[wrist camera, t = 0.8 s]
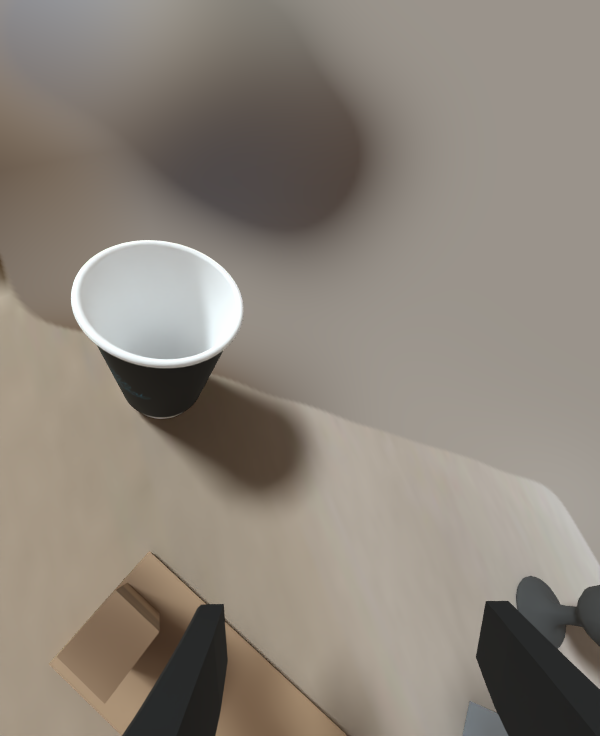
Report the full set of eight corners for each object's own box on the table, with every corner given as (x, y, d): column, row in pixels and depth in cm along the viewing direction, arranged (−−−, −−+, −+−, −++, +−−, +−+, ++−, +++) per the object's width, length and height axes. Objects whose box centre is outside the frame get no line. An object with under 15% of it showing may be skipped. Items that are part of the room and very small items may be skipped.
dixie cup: (225, 360, 28) (255, 268, 19) (202, 449, 24) (227, 384, 15) (127, 334, 26) (111, 219, 18) (84, 426, 22) (33, 336, 13)
